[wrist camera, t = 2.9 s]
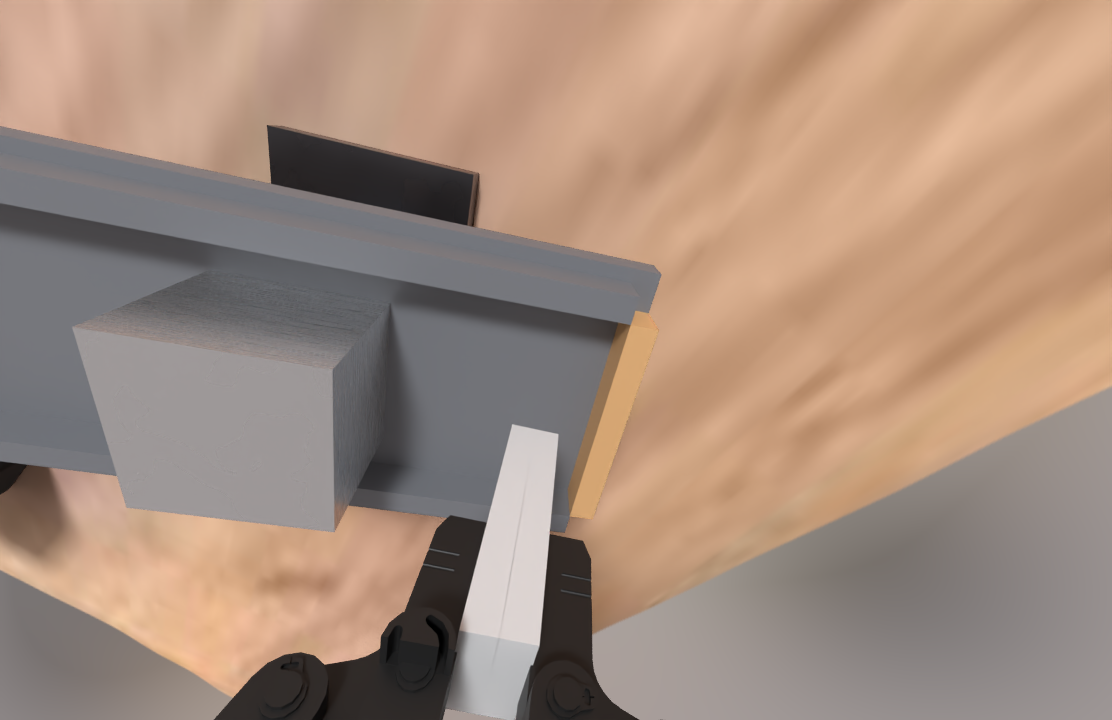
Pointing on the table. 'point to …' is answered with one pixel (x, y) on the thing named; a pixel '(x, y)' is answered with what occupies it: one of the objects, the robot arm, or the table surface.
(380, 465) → the beam
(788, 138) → the table surface
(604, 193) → the table surface
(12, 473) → the battery
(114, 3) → the table surface
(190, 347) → the rider
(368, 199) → the stand
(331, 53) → the table surface
